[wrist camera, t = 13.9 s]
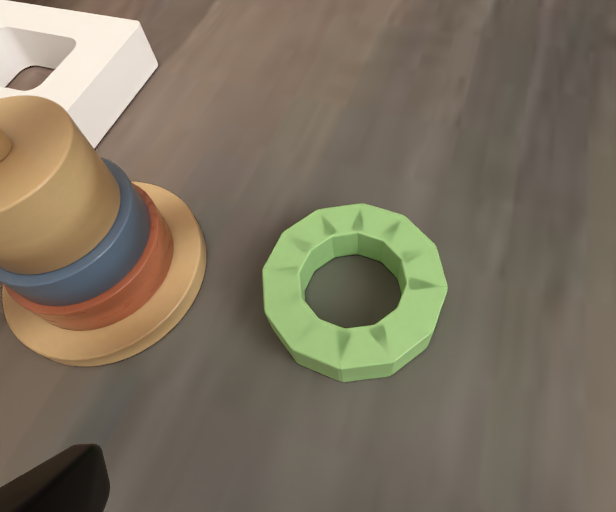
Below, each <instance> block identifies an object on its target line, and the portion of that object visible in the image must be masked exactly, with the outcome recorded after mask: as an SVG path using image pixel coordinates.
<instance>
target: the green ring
mask: <svg viewBox="0 0 616 512" xmlns="http://www.w3.org/2000/svg"><path fill="white" fill-rule="evenodd" d="M353 254H359V255H362V256H365V257H368V258H371V259H374V260H377V261H380V262H382V263H383V264H384V265H385V266H386V267H387V268H388V269H389V270H390V271H391V272H392V273H393V274H394V276H395V277H396V278H397V279H398V282H399V287H400V291H401V298H400V301H399V304H398V306H397V308H396V309H395V310H394V311H392V312H391V313H390V314H388V315H387V316H385V317H384V318H383V319H381V320H380V321H379V322H377V323H376V324H375V325H369V326H361V327H354V328H346V329H344V328H342V327H339V326H337V325H334V324H331V323H329V322H326V321H324V320H321V319H319V318H318V317H317V316H316V314H315V313H314V312H313V311H312V309H311V308H310V307H309V306H308V304H307V303H306V302H305V292H304V291H305V289H306V287H307V285H308V283H309V281H310V279H311V277H312V275H313V273H314V271H315V270H317V269H318V268H320V267H321V266H322V265H324V264H325V263H327V262H328V261H330V260H331V259H333V258H334V257H339V256H346V255H353ZM262 278H263V297H264V311H265V315H266V317H267V319H268V321H269V323H270V325H271V327H272V329H273V331H274V332H275V333H276V335H277V336H278V337H279V339H280V340H281V342H282V343H283V344H284V346H285V347H286V349H287V350H288V351H289V353H290V354H291V355H292V357H293V358H294V360H295V361H296V362H297V363H298V364H300V365H302V366H304V367H307V368H309V369H311V370H314V371H316V372H318V373H321V374H323V375H326V376H328V377H330V378H333V379H335V380H337V381H342V382H349V381H357V380H365V379H373V378H381V377H389V376H391V375H393V374H394V373H395V372H397V371H398V370H399V369H400V368H402V367H403V366H404V365H406V364H407V363H408V362H409V361H411V360H412V359H413V358H415V357H416V356H417V355H418V354H420V353H421V352H422V351H423V350H425V349H426V348H427V346H428V345H429V342H430V339H431V337H432V334H433V331H434V329H435V326H436V323H437V320H438V317H439V314H440V311H441V308H442V305H443V302H444V299H445V296H446V293H447V290H448V289H447V287H448V286H447V283H446V279H445V276H444V272H443V269H442V265H441V261H440V258H439V254H438V251H437V248H436V245H435V244H434V243H433V242H432V241H431V240H430V239H429V238H428V237H427V236H425V235H424V234H423V233H422V232H421V231H420V230H419V229H418V228H417V227H416V226H415V225H414V224H413V223H412V222H411V221H410V220H409V219H407V218H406V217H405V216H404V215H401V214H398V213H395V212H391V211H388V210H385V209H381V208H378V207H374V206H371V205H368V204H364V203H362V204H352V205H345V206H338V207H331V208H324V209H317V210H316V211H314V212H313V213H311V214H310V215H308V216H307V217H305V218H304V219H302V220H301V221H299V222H297V223H296V224H294V225H293V226H291V227H290V228H288V229H287V230H285V231H284V232H283V233H282V234H281V236H280V238H279V240H278V242H277V243H276V245H275V247H274V249H273V251H272V252H271V254H270V256H269V258H268V260H267V262H266V263H265V265H264V267H263V271H262Z"/></svg>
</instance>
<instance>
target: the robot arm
mask: <svg viewBox="0 0 616 512" xmlns="http://www.w3.org/2000/svg"><path fill="white" fill-rule="evenodd" d="M109 492H110V482H109V477H108V473H107V469H106V465H105V460H104V456H103V452H102V449H101V448H100V446H99V445H97V444H77V445H73V446H71V447H69V448H68V449H66V450H64V451H62V452H61V453H59V454H57V455H56V456H54V457H52V458H50V459H49V460H47V461H45V462H44V463H42V464H40V465H38V466H37V467H35V468H33V469H32V470H30V471H28V472H26V473H25V474H23V475H21V476H20V477H18V478H16V479H14V480H13V481H11V482H9V483H8V484H6V485H4V486H2V487H1V488H0V512H103V511H104V508H105V505H106V503H107V500H108V497H109Z"/></svg>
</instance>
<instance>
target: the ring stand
mask: <svg viewBox="0 0 616 512" xmlns="http://www.w3.org/2000/svg"><path fill="white" fill-rule="evenodd" d="M206 258H207V254H206V244H205V239H204V235H203V233H202V230H201V228H200V226H199V224H198V222H197V220H196V219H195V217H194V215H193V214H192V212H191V210H190V209H189V208H188V206H187V205H186V204H185V203H184V202H183V201H182V200H181V199H180V198H178V197H177V196H176V195H174V194H173V193H171V192H169V191H167V190H166V189H163V188H161V187H158V186H156V185H151V184H147V183H141V182H131V181H130V180H129V178H128V177H127V176H126V174H125V173H124V172H123V171H122V169H121V168H119V167H118V166H117V165H116V164H114V163H112V162H111V161H109V160H107V159H104V158H101V157H100V156H99V155H98V153H97V152H96V151H95V149H94V148H93V147H92V145H91V144H90V143H89V141H88V140H87V138H86V137H85V136H84V134H83V133H82V132H81V130H80V129H79V127H78V126H77V125H76V123H75V122H74V121H73V119H72V118H71V116H70V115H69V114H68V113H67V111H66V110H65V109H64V108H63V107H62V106H60V105H59V104H57V103H56V102H54V101H52V100H49V99H47V98H44V97H39V96H30V95H21V96H11V97H5V98H1V99H0V282H1V283H2V284H3V288H2V302H3V310H4V313H5V317H6V320H7V322H8V324H9V326H10V328H11V330H12V332H13V333H14V334H15V335H16V337H17V338H18V339H19V340H20V341H21V342H22V343H23V344H24V345H25V346H27V347H28V348H30V349H31V350H33V351H35V352H36V353H38V354H40V355H42V356H44V357H46V358H48V359H50V360H53V361H56V362H58V363H61V364H66V365H71V366H84V367H87V366H100V365H104V364H109V363H114V362H117V361H120V360H123V359H126V358H129V357H131V356H133V355H135V354H137V353H139V352H141V351H143V350H145V349H146V348H148V347H150V346H151V345H153V344H154V343H156V342H157V341H158V340H160V339H161V338H162V337H164V336H165V335H166V334H167V333H168V332H169V331H170V330H171V329H172V328H173V327H175V326H176V325H177V323H178V322H179V321H180V320H181V319H182V317H183V316H184V315H185V314H186V312H187V311H188V309H189V308H190V306H191V305H192V303H193V302H194V300H195V298H196V296H197V294H198V292H199V289H200V286H201V284H202V281H203V277H204V273H205V268H206Z"/></svg>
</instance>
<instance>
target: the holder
mask: <svg viewBox="0 0 616 512" xmlns="http://www.w3.org/2000/svg"><path fill="white" fill-rule="evenodd" d="M34 65H37V66H42V67H47V68H52V69H55V70H54V71H53V72H52V73H51V74H50V76H49V77H48V78H47V79H46V80H45V81H44V82H43V83H42V84H41V85H40V86H38V87H36V88H34V89H32V90H28V91H19V90H15V89H10V88H6V87H5V86H6V85H7V84H8V83H9V82H10V81H11V80H12V79H13V78H14V77H15V76H16V75H17V74H18V73H19V72H20V71H21V70H23V69H24V68H26V67H29V66H34ZM157 67H158V62H157V60H156V58H155V56H154V54H153V51H152V49H151V47H150V45H149V43H148V40H147V38H146V36H145V34H144V32H143V29H142V27H141V25H140V23H139V22H138V21H135V20H128V19H122V18H115V17H109V16H103V15H96V14H90V13H84V12H77V11H71V10H65V9H58V8H52V7H45V6H39V5H33V4H26V3H20V2H14V1H7V0H0V99H1V98H5V97H11V96H21V95H30V96H39V97H44V98H47V99H49V100H52V101H54V102H56V103H57V104H59V105H60V106H62V107H63V108H64V109H65V110H66V111H67V113H68V114H69V115H70V116H71V118H72V119H73V121H74V122H75V123H76V125H77V126H78V127H79V129H80V130H81V132H82V133H83V134H84V136H85V137H86V138H87V140H88V141H89V143H90V144H91V145H92V147H93V148H95V147H96V146H97V144H98V143H99V142H100V141H101V139H102V138H103V137H104V135H105V134H106V133H107V131H108V130H109V129H110V128H111V126H112V125H113V124H114V122H115V121H116V120H117V119H118V117H119V116H120V115H121V113H122V112H123V111H124V110H125V108H126V107H127V106H128V104H129V103H130V102H131V100H132V99H133V98H134V97H135V95H136V94H137V93H138V91H139V90H140V89H141V88H142V86H143V85H144V84H145V82H146V81H147V80H148V78H149V77H150V76H151V75H152V73H153V72H154V71H155V69H156V68H157Z"/></svg>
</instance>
